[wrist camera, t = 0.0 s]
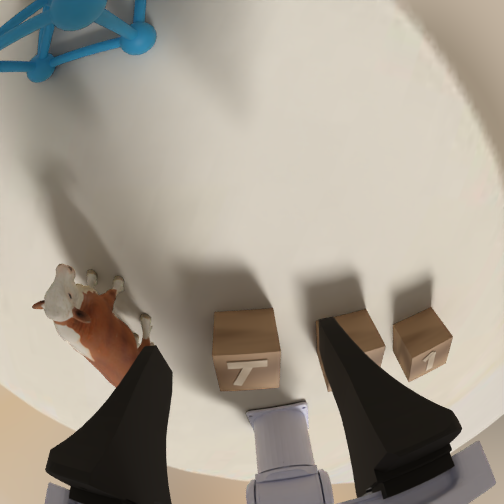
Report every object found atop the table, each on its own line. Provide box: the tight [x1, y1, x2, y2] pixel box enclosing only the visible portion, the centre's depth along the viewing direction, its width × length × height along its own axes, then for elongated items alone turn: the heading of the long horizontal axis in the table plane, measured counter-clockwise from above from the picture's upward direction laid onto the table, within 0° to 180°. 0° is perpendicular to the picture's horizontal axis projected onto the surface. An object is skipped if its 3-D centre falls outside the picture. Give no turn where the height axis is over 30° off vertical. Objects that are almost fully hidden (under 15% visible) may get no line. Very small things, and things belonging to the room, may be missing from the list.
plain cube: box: [316, 309, 386, 392], centre depth 24 cm, size 5×5×5 cm
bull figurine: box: [32, 264, 154, 387], centre depth 19 cm, size 4×13×8 cm, turn 12°
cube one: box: [393, 307, 453, 382], centre depth 25 cm, size 5×5×5 cm
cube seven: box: [212, 308, 281, 391], centre depth 23 cm, size 5×5×5 cm
